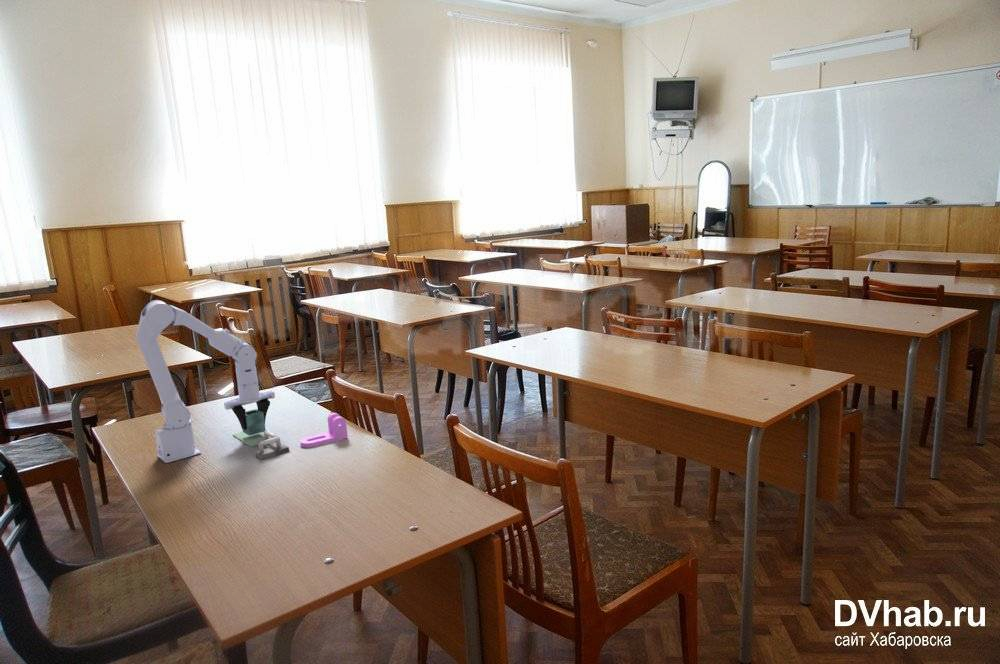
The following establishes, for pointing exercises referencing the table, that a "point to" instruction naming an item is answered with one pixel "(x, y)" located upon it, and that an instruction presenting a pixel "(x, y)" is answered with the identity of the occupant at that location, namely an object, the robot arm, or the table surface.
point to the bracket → (335, 432)
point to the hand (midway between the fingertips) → (253, 426)
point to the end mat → (250, 438)
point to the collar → (254, 422)
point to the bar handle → (270, 446)
